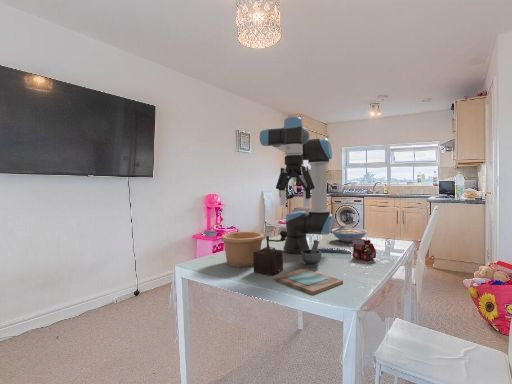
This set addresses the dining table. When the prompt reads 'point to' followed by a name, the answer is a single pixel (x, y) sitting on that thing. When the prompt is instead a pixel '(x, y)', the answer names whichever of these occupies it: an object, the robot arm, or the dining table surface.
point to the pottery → (241, 247)
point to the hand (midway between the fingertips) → (294, 206)
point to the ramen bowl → (348, 233)
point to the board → (308, 281)
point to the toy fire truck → (363, 249)
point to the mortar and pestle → (311, 256)
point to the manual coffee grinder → (269, 258)
